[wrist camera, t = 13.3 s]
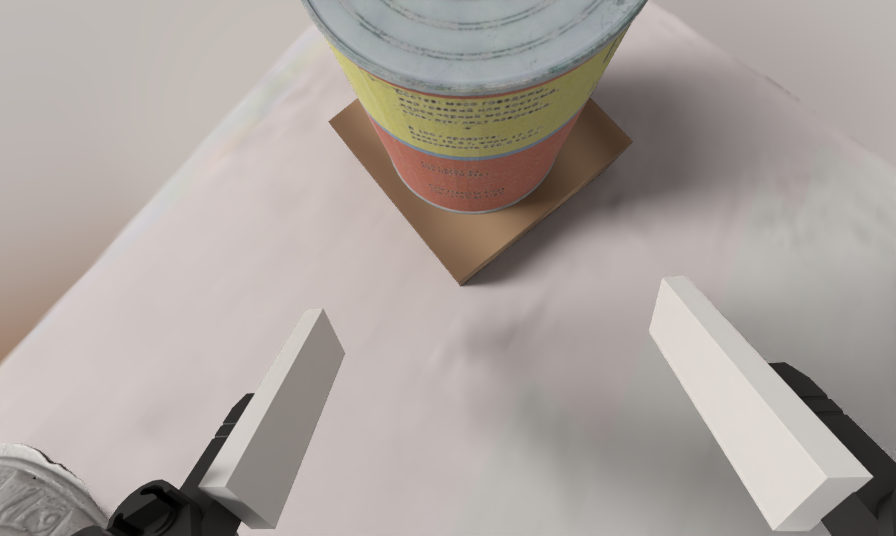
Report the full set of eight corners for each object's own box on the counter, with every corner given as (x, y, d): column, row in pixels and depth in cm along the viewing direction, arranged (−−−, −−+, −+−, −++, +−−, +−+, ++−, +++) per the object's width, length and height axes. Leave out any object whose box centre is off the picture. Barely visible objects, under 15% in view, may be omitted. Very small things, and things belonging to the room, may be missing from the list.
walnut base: (486, 41, 26) (489, -6, 22) (606, 168, 24) (632, 141, 20) (350, 149, 26) (328, 121, 22) (460, 286, 24) (458, 282, 20)
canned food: (589, 87, 21) (742, -197, 9) (515, 243, 20) (578, 154, 8) (433, 27, 22) (389, -289, 10) (358, 172, 22) (217, 7, 10)
